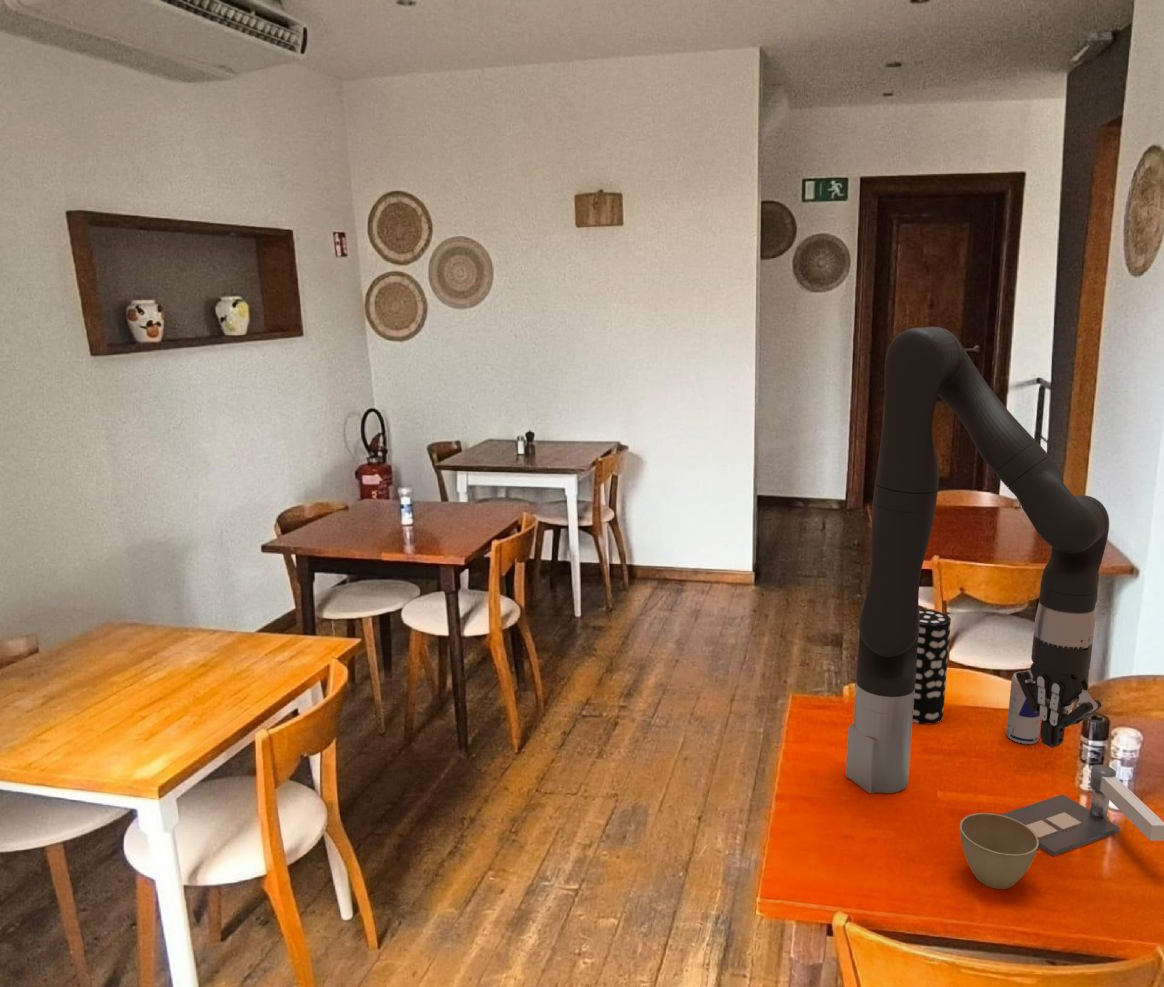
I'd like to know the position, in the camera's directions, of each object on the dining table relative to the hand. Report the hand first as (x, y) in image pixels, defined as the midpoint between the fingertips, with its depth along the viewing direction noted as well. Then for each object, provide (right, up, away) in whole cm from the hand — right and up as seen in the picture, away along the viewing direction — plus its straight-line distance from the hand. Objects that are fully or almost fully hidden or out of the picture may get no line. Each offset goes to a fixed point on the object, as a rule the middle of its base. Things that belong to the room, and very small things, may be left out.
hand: (1051, 744), depth 133 cm
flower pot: (-11, -17, -6) cm, 21 cm away
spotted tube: (-4, -6, +42) cm, 42 cm away
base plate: (+4, -14, +6) cm, 16 cm away
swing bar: (+11, -10, 0) cm, 15 cm away
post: (+11, -13, +8) cm, 19 cm away
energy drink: (+11, -8, +32) cm, 35 cm away
